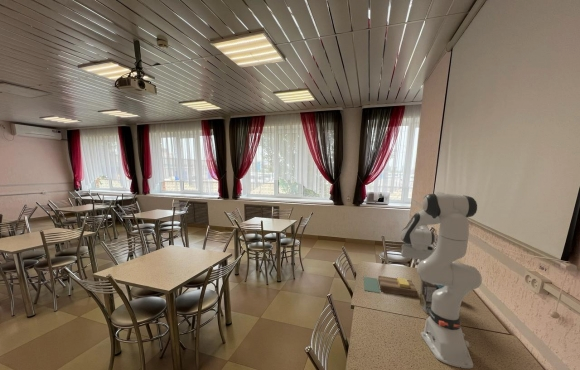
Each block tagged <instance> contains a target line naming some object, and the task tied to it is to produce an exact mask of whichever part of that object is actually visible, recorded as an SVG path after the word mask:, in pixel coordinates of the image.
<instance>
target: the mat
mask: <svg viewBox="0 0 580 370" xmlns="http://www.w3.org/2000/svg"><path fill="white" fill-rule="evenodd" d="M363 287H364V291H365V292H372V293H377V294H381V290H380V286H379V282H378V278H377V277H369V276H365V275H364V276H363Z"/></svg>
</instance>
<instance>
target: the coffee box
mask: <svg viewBox="0 0 580 370" xmlns="http://www.w3.org/2000/svg"><path fill="white" fill-rule="evenodd" d="M438 289H439V287H438V286H437V285H436V284H432V283H429V282H426V281H423V280H422V279H421V278H420V292H419V293H420V294H419V305H420V307H421V309H422V310H423V311H424V313H425V314H429V315H430V307H431V304H432V294H433V293H434V291H436V290H438Z"/></svg>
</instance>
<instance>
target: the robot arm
mask: <svg viewBox="0 0 580 370" xmlns="http://www.w3.org/2000/svg"><path fill="white" fill-rule="evenodd" d="M421 202H422V203H421V205H422V210H420V211H418V212H416V213H414V214H413V216H412V217H411V218H410V220H409V222H408V223H407V225H406V226H405V227H404V228H403V229H402V230H401V232H400V239H401V240H402V241H403V244H401V252H400V255H401V256H402V258H405V259H407V258H408V259H413V260H412V261H414V265H415V266H417V268H416V271H417V275H418V277H419V278H420V280H421V279H422V280H423V281H426V282H429V283H432V284H437V285H444V287H443V288H441V289H438V290H436V291H434V293H433V294H432V304H431V307H430V314H429V316H428V318H426V319H425V325H424V331H421V332H420V336H421V338H422V339H423V341H424V342H425V343H426V345H427V347H428V349H429V350H430V352H432V354H433V356H434V357H435V358H436V360H438V361H440V362H442V363H444V364H446V365H448V366H449V365H450V366H453V367H457V368H460V367H461V368H460V369H473V368H474V363H473V360H472V357H471V355H470V352H469V349H468V348H470V342H469V341H468V340H465V336H466V334H465V333H464V332H463V330H462V324H461V321H462V320H461V316H460V311H461V305H462V301H463V300H464V298H465V297H466V296H467V294H469V293H470V292H472V291H473V290H476V289H478V288H480V287H481V285H482V281H483V278H482V275H481V272H480V271H479V269H477V268H476V267H475V266H472V265H468V264H466V263H460V262H459V263H458V262H455V261H457V260H459V259H462V258H463V257H464V256H466V253H467V250H468V249H467V248H468V241H469V234H470V233H469V231H470V227H469V226H470V225H469V219H468V218H471V217H473V216H475V214H476V213H477V211H478V203H477V201H476V199H475V198H474V197H472V196H468V195H458V194H450V193H445V192H440V191H439V192H435V193H429V194H425V196H424V197H423V200H422V201H421ZM430 225H431V226H432V225H439V228H438V235H437V236H438V237H437V240H436V238H435V236H436V235H435V234H434V232H433V231H432V230H431V229H429V227H428V226H430ZM435 240H436V246H435V247H434V246H433V244H434V242H435ZM417 260H418V261H417Z"/></svg>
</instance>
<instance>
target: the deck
mask: <svg viewBox="0 0 580 370" xmlns="http://www.w3.org/2000/svg"><path fill="white" fill-rule="evenodd" d="M377 280H378V284H379V289H380V292H385V293H392V294H397V295H403V296H409V297H415V298H416V297H418V290H417V288H416V287H415V284H414V282H413V281H412V280H410V279H407V281H408V283H409V285H410V286H409V288H406V287H400V286H399V284H398V281H397V277H395V278H394V277H389V276H382V275H378V278H377Z"/></svg>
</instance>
